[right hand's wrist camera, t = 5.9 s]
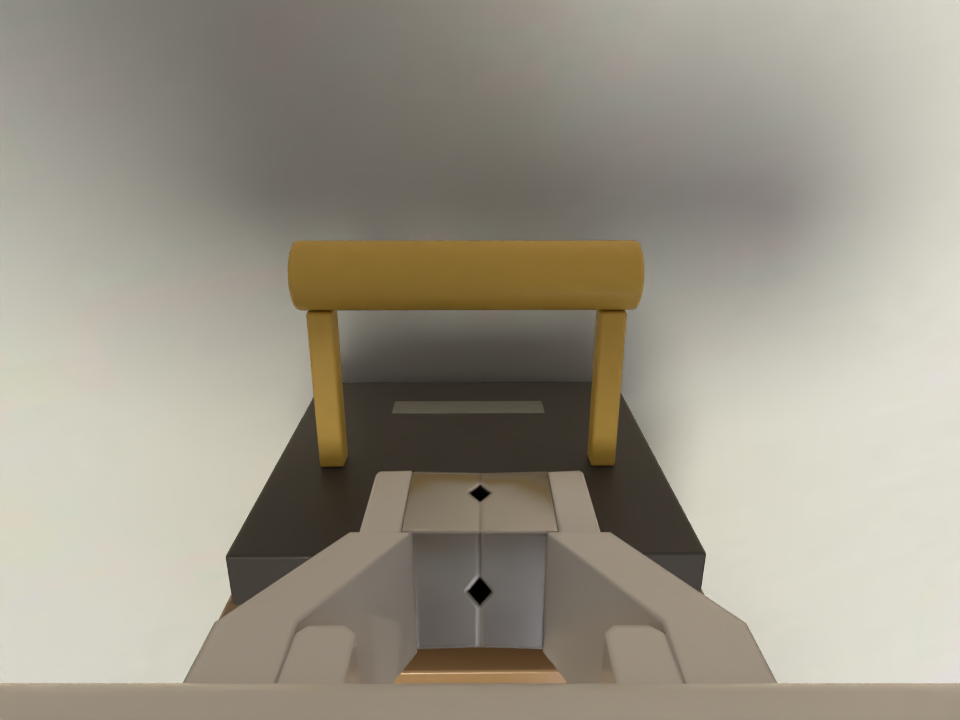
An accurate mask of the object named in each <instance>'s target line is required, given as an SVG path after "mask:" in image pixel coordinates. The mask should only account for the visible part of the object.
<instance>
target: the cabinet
mask: <svg viewBox="0 0 960 720" xmlns="http://www.w3.org/2000/svg"><path fill="white" fill-rule="evenodd" d="M701 593H702V594H703V595H704V593H703V591H702V589H701ZM239 606H240V605H235V604H233V600H232V594H231V596H230V598H229V600H228V602H227V604H226V606H225V608H224V610H223V612H222V614H221V616H220V618H219V619H221V618H222V617H224V616H225V615H227V614H228V613H230V612H231V611H233V610H234V609H236V608H237V607H239ZM393 683H567V681H566V680H565V679H564V678H563V676H562V675H561V674H560V673H559V671H558V670H557V669H556V668H555V666H554V665H553V664H552V663H551V662H550V660H549V659H548V658H547V657H546V655H545V654H544V653H543V649H522V648H486V647H472V648H437V649H417V654H416V655H415V656H414V657H413V658H412V660H411V661H410V662H409V663H408V665H407V666H406V667H405V668H404V670H403V671H402V672H401V673H400V675H399V676H398V677H397V678H396V679H395V681H394V682H393Z"/></svg>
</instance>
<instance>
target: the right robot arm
mask: <svg viewBox="0 0 960 720" xmlns="http://www.w3.org/2000/svg"><path fill="white" fill-rule="evenodd" d="M472 647H486V648H522V649H543V653H544V654H545V655H546V657H547V658H548V659H549V660H550V662H551V663H552V664H553V665H554V666H555V668H556V669H557V670H558V671H559V673H560V674H561V675H562V676H563V678H564V679H565V680H566V681H567V683H393V682H394V681H395V679H396V678H397V677H398V676H399V675H400V673H401V672H402V671H403V670H404V668H405V667H406V666H407V665H408V663H409V662H410V661H411V660H412V658H413V657H414V656H415V655H416V654H417V649H437V648H472ZM0 720H960V683H777V682H776V680H775V678H774V676H773V674H772V672H771V670H770V668H769V666H768V664H767V662H766V660H765V658H764V657H763V655H762V653H761V651H760V649H759V647H758V645H757V643H756V641H755V639H754V637H753V635H752V634H751V632H750V630H749V628H748V626H747V624H746V623H745V622H743V621H742V620H740V619H739V618H737V617H736V616H734V615H733V614H731V613H730V612H728V611H727V610H725V609H724V608H722V607H721V606H720V605H718V604H717V603H715V602H714V601H712V600H711V599H709V598H708V597H706V596H705V595H703V594H702V593H700V592H699V591H697V590H696V589H694V588H693V587H691V586H690V585H688V584H687V583H685V582H684V581H682V580H681V579H679V578H678V577H676V576H675V575H673V574H672V573H670V572H669V571H667V570H666V569H664V568H663V567H661V566H660V565H658V564H657V563H655V562H654V561H652V560H651V559H649V558H648V557H646V556H645V555H643V554H642V553H640V552H639V551H637V550H636V549H634V548H633V547H631V546H630V545H628V544H627V543H625V542H624V541H622V540H621V539H619V538H618V537H616V536H615V535H613V534H612V533H610V532H600V529H599V526H598V522H597V519H596V515H595V512H594V509H593V505H592V502H591V498H590V495H589V492H588V488H587V485H586V481H585V478H584V475H583V473H582V472H581V471H561V472H507V473H466V472H412V471H382V472H379V473H378V474H377V475H376V477H375V481H374V484H373V488H372V491H371V494H370V498H369V501H368V505H367V508H366V512H365V515H364V519H363V522H362V525H361V529H360V532H350V533H348V534H347V535H345V536H344V537H342V538H341V539H339V540H338V541H336V542H335V543H333V544H332V545H330V546H329V547H327V548H326V549H324V550H323V551H321V552H320V553H318V554H317V555H315V556H314V557H312V558H311V559H309V560H308V561H306V562H305V563H303V564H302V565H300V566H299V567H297V568H296V569H294V570H293V571H291V572H290V573H288V574H287V575H285V576H284V577H282V578H281V579H279V580H278V581H276V582H275V583H273V584H272V585H270V586H269V587H267V588H266V589H264V590H263V591H261V592H260V593H258V594H257V595H255V596H254V597H252V598H251V599H249V600H248V601H246V602H245V603H243V604H242V605H240V606H239V607H237V608H236V609H234V610H233V611H231V612H230V613H228V614H227V615H225V616H224V617H222V618H221V619H219V620H218V621H216V622H215V623H214V625H213V627H212V628H211V630H210V632H209V634H208V636H207V638H206V640H205V642H204V644H203V646H202V647H201V649H200V651H199V653H198V655H197V657H196V659H195V661H194V663H193V665H192V666H191V668H190V670H189V672H188V674H187V676H186V678H185V680H184V682H183V683H0Z"/></svg>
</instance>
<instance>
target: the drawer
mask: <svg viewBox="0 0 960 720" xmlns="http://www.w3.org/2000/svg"><path fill="white" fill-rule="evenodd" d="M288 283H289V291H290V295H291V299H292V302H293V304H294V306H295V308H296V309H298V310H309V311H308V312H307V314H306V317H307V328H308V339H309V350H310V361H311V372H312V382H313V393H314V398H313V399H312V401H311V403H310V405H309V407H308V408H307V410H306V412H305V414H304V416H303V417H302V419H301V421H300V423H299V425H298V426H297V428H296V430H295V432H294V434H293V436H292V437H291V439H290V441H289V443H288V445H287V446H286V448H285V450H284V452H283V454H282V455H281V457H280V459H279V461H278V463H277V465H276V466H275V468H274V470H273V472H272V474H271V475H270V477H269V479H268V481H267V483H266V484H265V486H264V488H263V490H262V492H261V493H260V495H259V497H258V499H257V501H256V503H255V504H254V506H253V508H252V510H251V512H250V513H249V515H248V517H247V519H246V521H245V522H244V524H243V526H242V528H241V530H240V532H239V533H238V535H237V537H236V539H235V541H234V542H233V544H232V546H231V548H230V550H229V551H228V553H227V555H226V562H227V568H228V574H229V581H230V587H231V594H232V600H233V604H235V605H242V604H243V603H245V602H246V601H248V600H249V599H251V598H252V597H254V596H255V595H257V594H258V593H260V592H261V591H263V590H264V589H266V588H267V587H269V586H270V585H272V584H273V583H275V582H276V581H278V580H279V579H281V578H282V577H284V576H285V575H287V574H288V573H290V572H291V571H293V570H294V569H296V568H297V567H299V566H300V565H302V564H303V563H305V562H306V561H308V560H309V559H311V558H312V557H314V556H315V555H317V554H318V553H320V552H321V551H323V550H324V549H326V548H327V547H329V546H330V545H332V544H333V543H335V542H336V541H338V540H339V539H341V538H342V537H344V536H345V535H347V534H348V533H350V532H360V529H361V525H362V522H363V519H364V515H365V512H366V508H367V505H368V501H369V498H370V494H371V491H372V488H373V484H374V481H375V477H376V475H377V474H378V473H379V472H382V471H412V472H466V473H507V472H561V471H581V472H582V473H583V475H584V478H585V481H586V485H587V488H588V492H589V495H590V498H591V502H592V505H593V509H594V512H595V515H596V519H597V522H598V526H599V529H600V532H610V533H612V534H613V535H615V536H616V537H618V538H619V539H621V540H622V541H624V542H625V543H627V544H628V545H630V546H631V547H633V548H634V549H636V550H637V551H639V552H640V553H642V554H643V555H645V556H646V557H648V558H649V559H651V560H652V561H654V562H655V563H657V564H658V565H660V566H661V567H663V568H664V569H666V570H667V571H669V572H670V573H672V574H673V575H675V576H676V577H678V578H679V579H681V580H682V581H684V582H685V583H687V584H688V585H690V586H691V587H693V588H694V589H696V590H697V591H699V592H700V593H701V585H702V578H703V571H704V564H705V557H706V553H705V551H704V549H703V547H702V545H701V543H700V541H699V539H698V538H697V536H696V534H695V532H694V530H693V528H692V526H691V524H690V522H689V521H688V519H687V517H686V515H685V513H684V511H683V509H682V507H681V505H680V504H679V502H678V500H677V498H676V496H675V494H674V492H673V490H672V488H671V487H670V485H669V483H668V481H667V479H666V477H665V475H664V473H663V472H662V470H661V468H660V466H659V464H658V462H657V460H656V458H655V456H654V455H653V453H652V451H651V449H650V447H649V445H648V443H647V441H646V439H645V438H644V436H643V434H642V432H641V430H640V428H639V426H638V424H637V422H636V421H635V419H634V417H633V415H632V413H631V411H630V409H629V407H628V406H627V404H626V402H625V400H624V398H623V396H622V394H621V379H622V367H623V354H624V342H625V329H626V317H627V314H626V312H625V310H633V309H635V308H637V306H638V305H639V302H640V299H641V296H642V291H643V284H644V260H643V253H642V250H641V246H640V244H639V243H638V242H637V241H634V240H526V241H296V242H294V243H293V245H292V247H291V250H290V254H289V260H288ZM337 310H597V311H596V326H595V342H594V358H593V373H592V382H473V383H342V370H341V357H340V344H339V331H338V317H337Z"/></svg>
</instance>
